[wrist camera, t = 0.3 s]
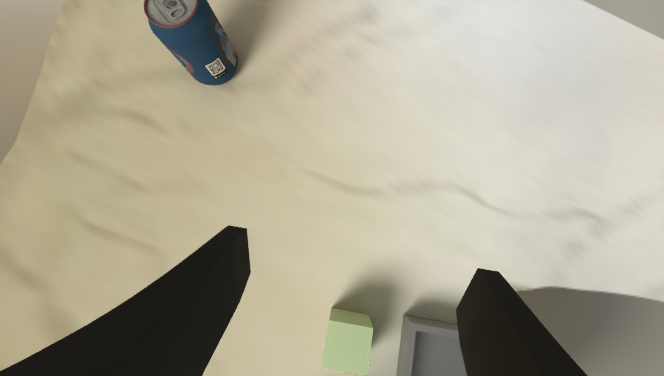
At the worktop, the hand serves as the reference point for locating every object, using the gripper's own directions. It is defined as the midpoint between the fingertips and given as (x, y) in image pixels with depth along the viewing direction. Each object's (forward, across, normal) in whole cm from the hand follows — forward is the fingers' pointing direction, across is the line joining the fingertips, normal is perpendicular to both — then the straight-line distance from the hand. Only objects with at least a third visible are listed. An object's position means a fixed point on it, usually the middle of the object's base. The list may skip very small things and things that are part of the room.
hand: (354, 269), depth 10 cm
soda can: (+36, +23, +4) cm, 43 cm away
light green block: (+15, -1, +27) cm, 31 cm away
